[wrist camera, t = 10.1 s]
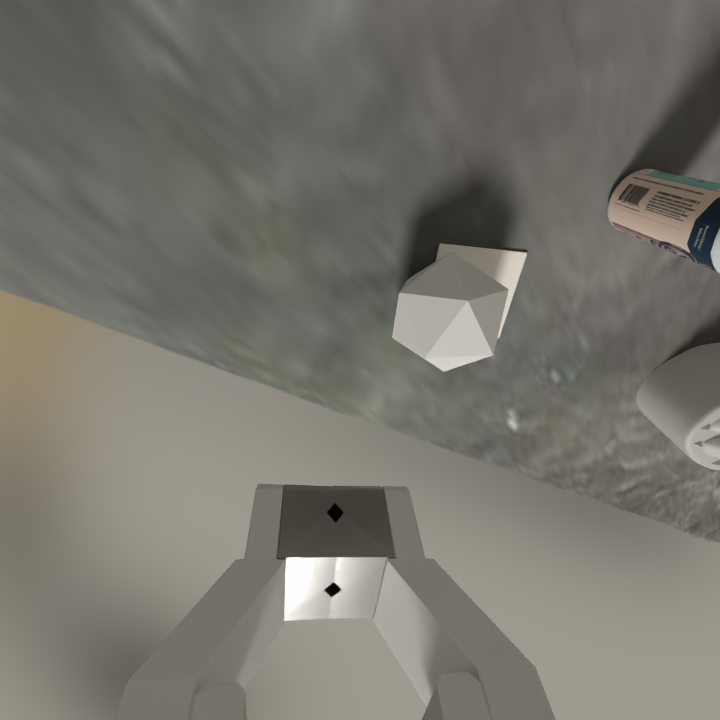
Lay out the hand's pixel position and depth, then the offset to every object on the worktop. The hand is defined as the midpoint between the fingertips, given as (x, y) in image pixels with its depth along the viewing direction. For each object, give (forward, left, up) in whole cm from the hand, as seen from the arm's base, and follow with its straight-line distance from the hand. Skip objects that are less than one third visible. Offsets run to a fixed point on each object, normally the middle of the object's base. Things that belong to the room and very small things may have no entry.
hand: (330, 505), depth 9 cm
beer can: (-25, -4, -28) cm, 38 cm away
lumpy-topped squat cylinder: (-41, +13, -28) cm, 51 cm away
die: (-7, +6, -25) cm, 27 cm away
